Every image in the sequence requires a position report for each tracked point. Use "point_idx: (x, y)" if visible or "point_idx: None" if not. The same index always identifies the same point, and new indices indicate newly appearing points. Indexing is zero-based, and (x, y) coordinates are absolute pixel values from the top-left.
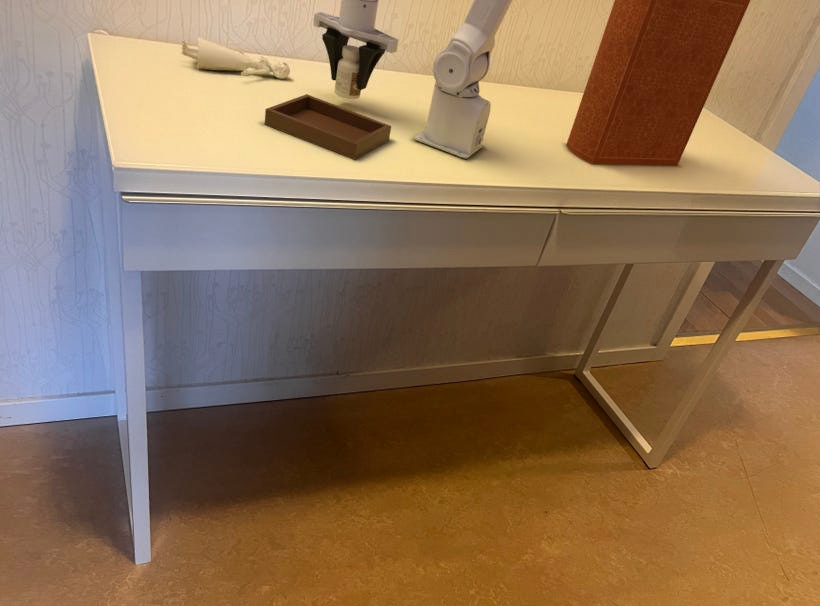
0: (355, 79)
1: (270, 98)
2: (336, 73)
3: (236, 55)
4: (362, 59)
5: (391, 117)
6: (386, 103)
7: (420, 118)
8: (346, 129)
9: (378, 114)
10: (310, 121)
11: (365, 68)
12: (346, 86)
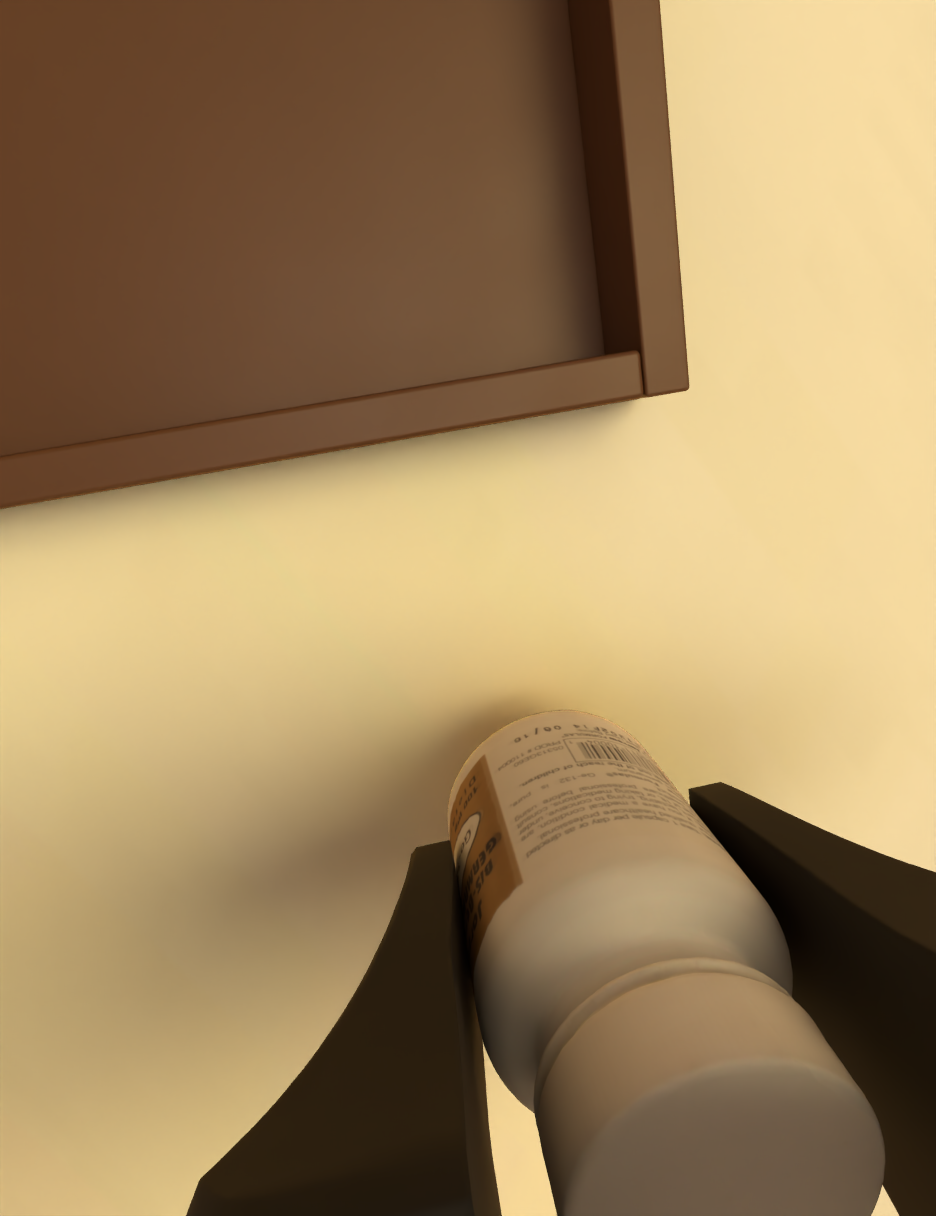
0: (478, 871)
1: (910, 291)
2: (718, 838)
3: None
4: (402, 1058)
5: (226, 928)
6: None
7: (128, 1115)
8: (123, 306)
9: (309, 877)
10: (395, 130)
11: (357, 999)
12: (523, 769)
